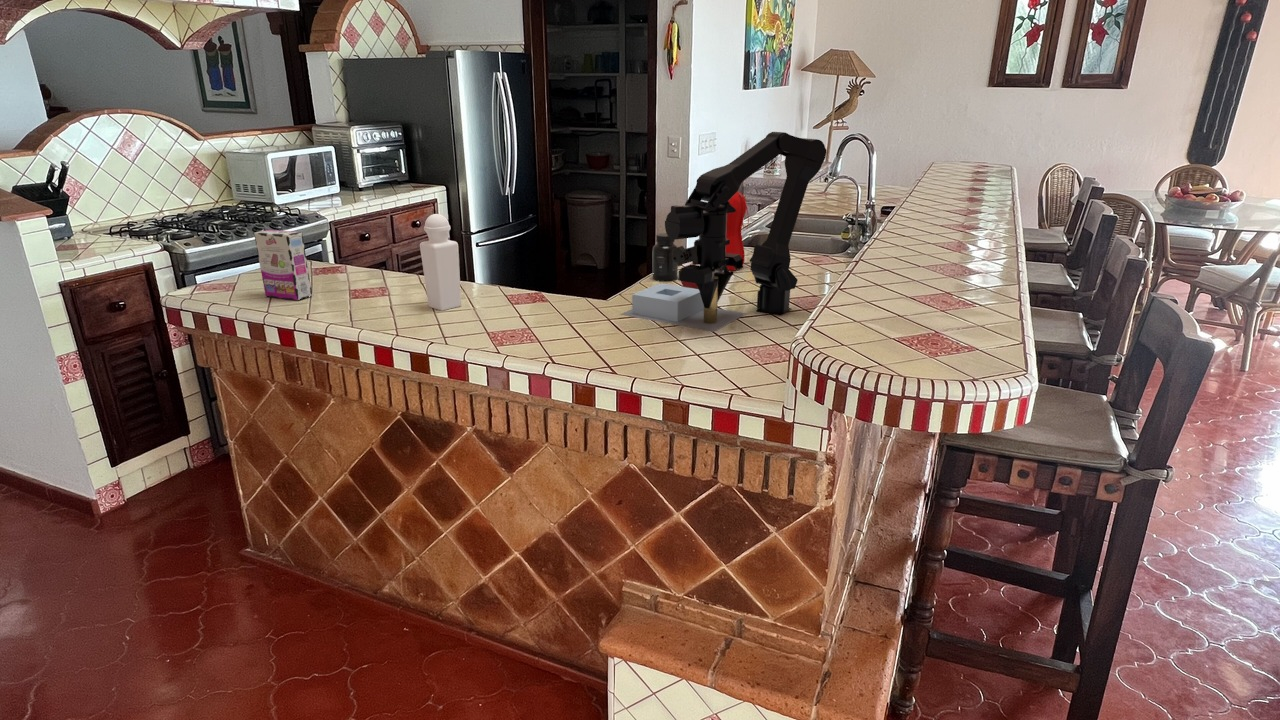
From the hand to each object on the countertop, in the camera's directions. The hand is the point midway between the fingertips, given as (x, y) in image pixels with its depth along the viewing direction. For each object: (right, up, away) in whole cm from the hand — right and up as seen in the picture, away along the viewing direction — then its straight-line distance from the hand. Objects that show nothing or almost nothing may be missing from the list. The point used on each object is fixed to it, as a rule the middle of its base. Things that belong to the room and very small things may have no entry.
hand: (710, 306), depth 162 cm
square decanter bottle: (-62, +1, +16) cm, 64 cm away
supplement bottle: (-9, +10, +40) cm, 42 cm away
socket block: (-9, -1, +9) cm, 13 cm away
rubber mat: (-6, -2, +7) cm, 9 cm away
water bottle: (+10, +14, +51) cm, 54 cm away
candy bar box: (-104, +4, +25) cm, 107 cm away
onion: (-2, +5, +25) cm, 26 cm away
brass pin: (0, -3, +1) cm, 4 cm away
